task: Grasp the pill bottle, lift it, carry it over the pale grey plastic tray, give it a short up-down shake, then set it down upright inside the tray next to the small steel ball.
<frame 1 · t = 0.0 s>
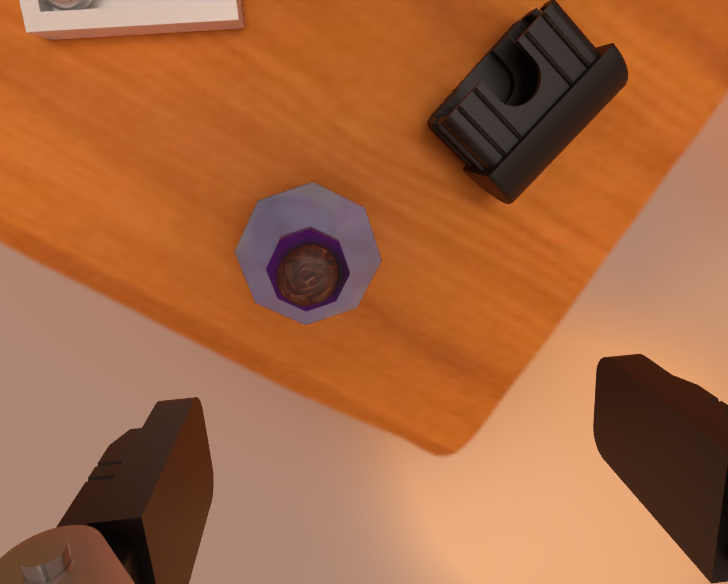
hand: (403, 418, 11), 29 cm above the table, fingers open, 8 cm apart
end cap: (505, 109, 39), on the table
potion bottle: (310, 234, 40), on the table
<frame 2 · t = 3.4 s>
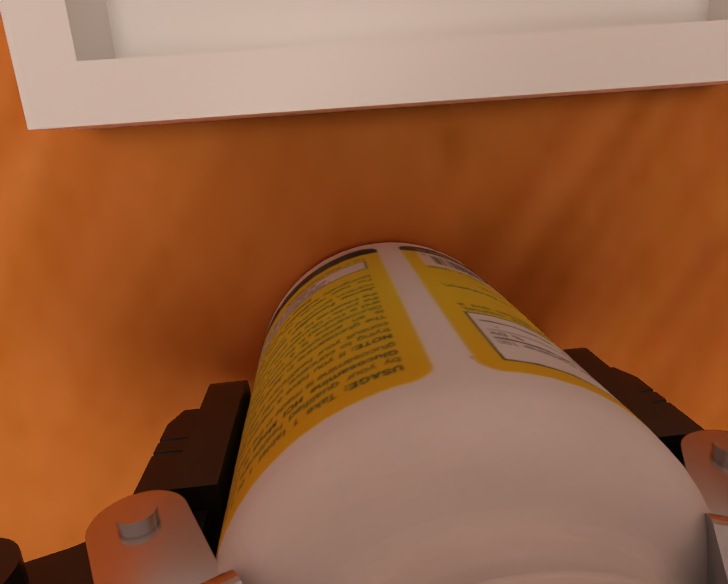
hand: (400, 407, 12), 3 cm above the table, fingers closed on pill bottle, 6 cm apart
pill bottle: (385, 353, 14), on the table, touching gripper
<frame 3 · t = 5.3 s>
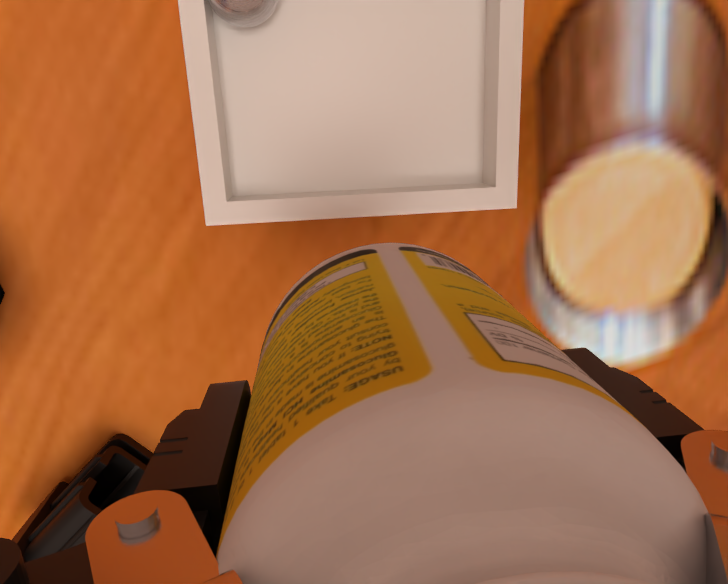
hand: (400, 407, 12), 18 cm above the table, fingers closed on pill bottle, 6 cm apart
end cap: (147, 514, 32), on the table
tray: (353, 79, 26), on the table
pill bottle: (385, 354, 14), point 15 cm above the table, touching gripper
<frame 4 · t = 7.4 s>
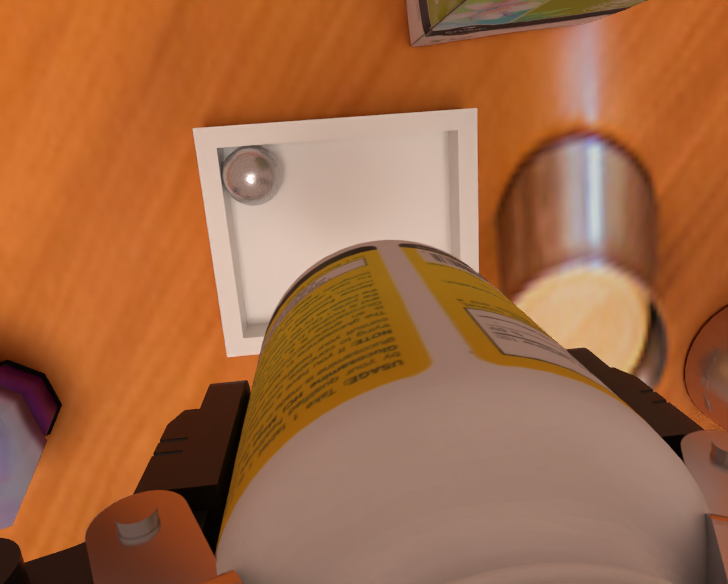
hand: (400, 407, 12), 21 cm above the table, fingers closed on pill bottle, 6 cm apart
tray: (343, 228, 32), on the table
pill bottle: (385, 351, 14), point 18 cm above the table, touching gripper
potion bottle: (14, 401, 34), on the table
steel ball: (255, 173, 30), point 1 cm above the table, touching tray
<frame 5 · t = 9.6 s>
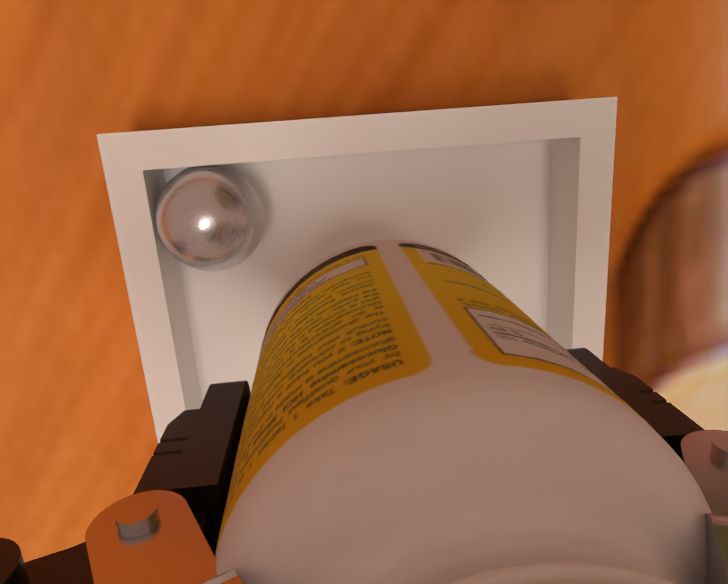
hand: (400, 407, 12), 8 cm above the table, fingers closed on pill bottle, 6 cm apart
tray: (369, 296, 20), on the table
pill bottle: (385, 351, 14), point 5 cm above the table, touching gripper
steel ball: (219, 211, 17), point 1 cm above the table, touching tray
when the fingers open (5 cm above the table, at t = 11.3 s): pill bottle drops 1 cm, resting on tray.
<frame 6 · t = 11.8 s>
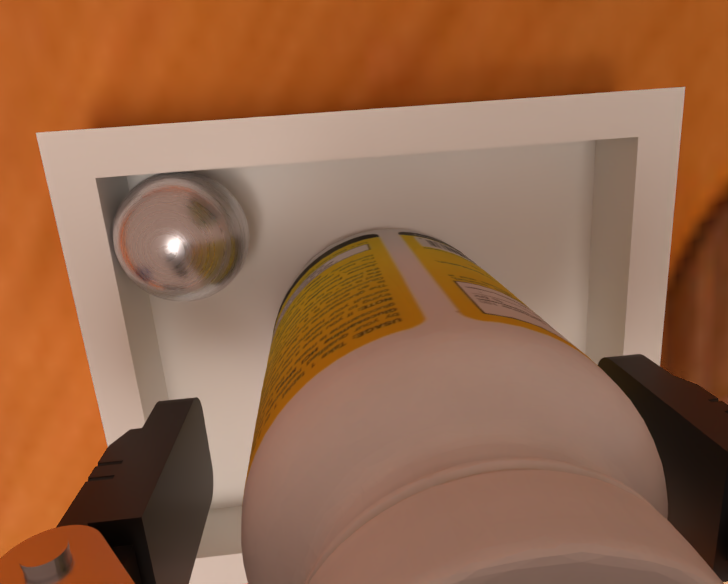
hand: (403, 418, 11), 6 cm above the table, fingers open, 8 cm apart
tray: (375, 324, 17), on the table
pill bottle: (386, 332, 16), point 1 cm above the table, touching tray
steel ball: (196, 225, 14), point 1 cm above the table, touching tray
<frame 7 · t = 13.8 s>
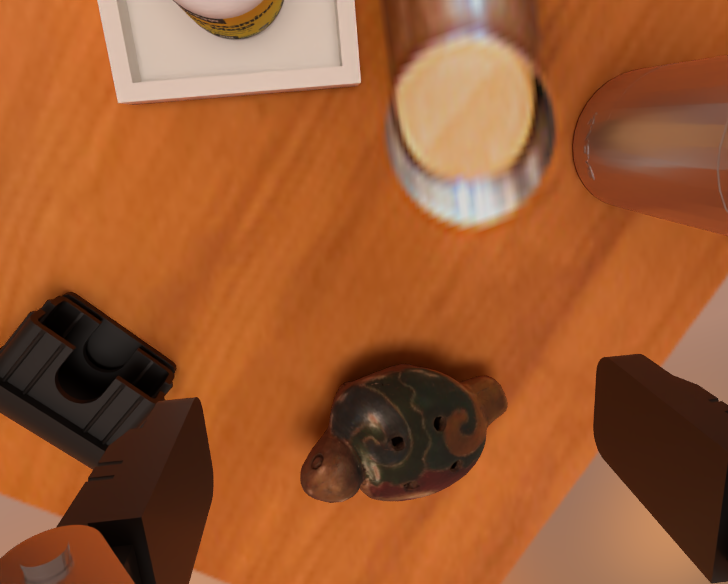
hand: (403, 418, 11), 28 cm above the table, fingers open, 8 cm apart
end cap: (97, 363, 40), on the table
decorative turtle: (395, 403, 43), on the table
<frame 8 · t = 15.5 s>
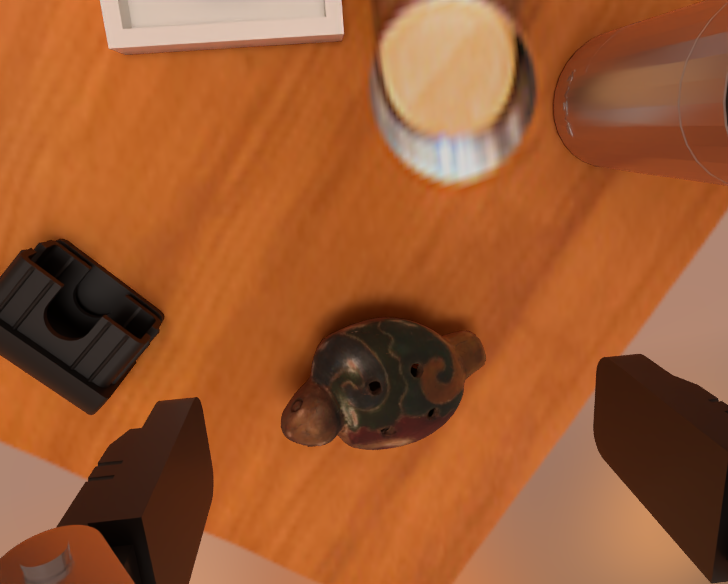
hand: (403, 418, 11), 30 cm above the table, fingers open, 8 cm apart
end cap: (87, 310, 41), on the table
decorative turtle: (377, 359, 44), on the table
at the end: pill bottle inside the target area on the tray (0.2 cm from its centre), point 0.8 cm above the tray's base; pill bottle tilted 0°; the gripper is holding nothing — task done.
